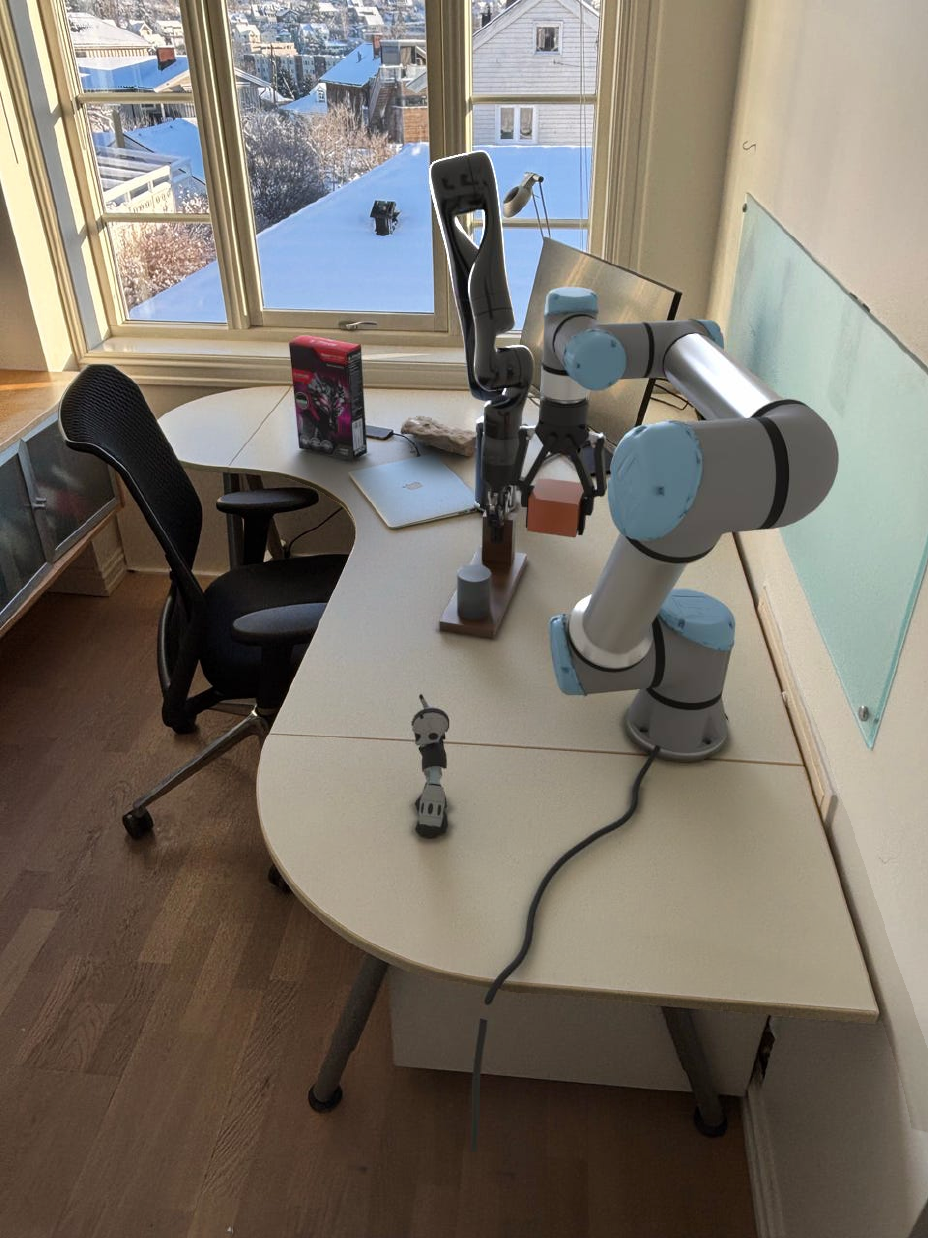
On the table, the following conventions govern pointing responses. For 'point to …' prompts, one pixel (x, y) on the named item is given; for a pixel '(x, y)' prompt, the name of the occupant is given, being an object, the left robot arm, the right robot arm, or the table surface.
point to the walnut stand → (485, 584)
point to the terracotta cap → (555, 507)
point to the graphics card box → (329, 396)
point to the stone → (440, 435)
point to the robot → (431, 769)
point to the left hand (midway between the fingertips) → (498, 537)
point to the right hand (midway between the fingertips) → (555, 527)
